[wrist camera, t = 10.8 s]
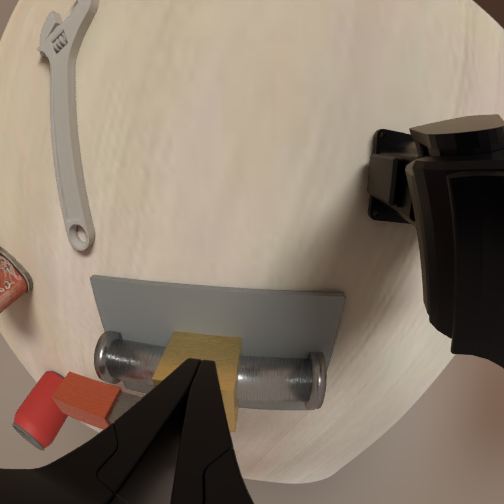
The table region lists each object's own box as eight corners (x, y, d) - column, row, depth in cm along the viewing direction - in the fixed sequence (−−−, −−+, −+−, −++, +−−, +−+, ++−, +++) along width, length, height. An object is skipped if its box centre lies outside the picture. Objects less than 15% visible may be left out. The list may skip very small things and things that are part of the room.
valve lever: (213, 406, 18) (205, 443, 15) (215, 420, 19) (208, 455, 15) (69, 371, 19) (51, 396, 15) (77, 387, 19) (62, 412, 16)
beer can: (41, 363, 30) (2, 414, 19) (71, 377, 30) (32, 437, 18) (54, 390, 32) (22, 439, 21) (84, 404, 32) (53, 459, 21)
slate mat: (343, 292, 21) (345, 296, 21) (314, 405, 27) (314, 410, 26) (93, 274, 22) (89, 277, 22) (127, 384, 28) (125, 388, 27)
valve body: (323, 336, 23) (334, 393, 17) (312, 381, 25) (318, 434, 19) (111, 316, 24) (77, 359, 18) (125, 360, 26) (100, 403, 20)
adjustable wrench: (102, 244, 22) (91, 252, 20) (55, 243, 22) (44, 250, 21) (104, -14, 12) (95, -20, 11) (55, 11, 13) (44, 7, 11)
